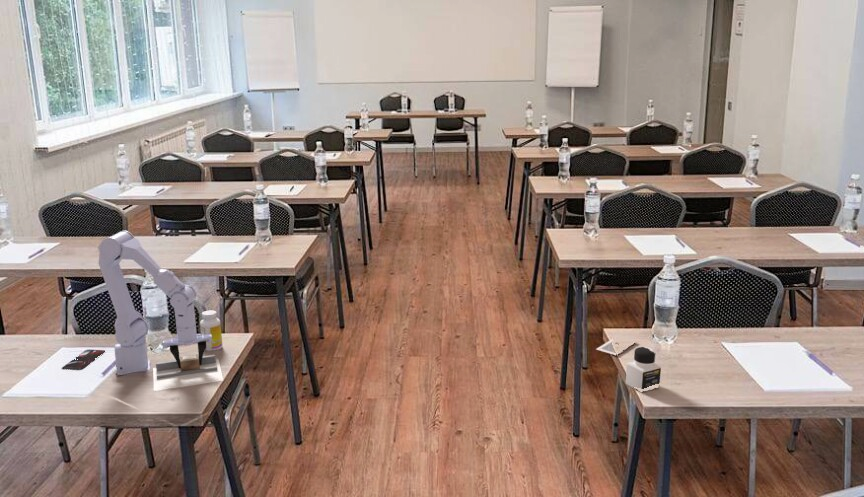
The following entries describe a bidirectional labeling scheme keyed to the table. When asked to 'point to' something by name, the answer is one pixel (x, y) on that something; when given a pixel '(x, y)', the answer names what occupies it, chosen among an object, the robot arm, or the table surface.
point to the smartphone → (83, 359)
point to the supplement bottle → (211, 329)
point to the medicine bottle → (643, 369)
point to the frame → (189, 362)
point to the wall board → (186, 374)
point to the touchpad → (607, 347)
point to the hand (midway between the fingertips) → (190, 365)
